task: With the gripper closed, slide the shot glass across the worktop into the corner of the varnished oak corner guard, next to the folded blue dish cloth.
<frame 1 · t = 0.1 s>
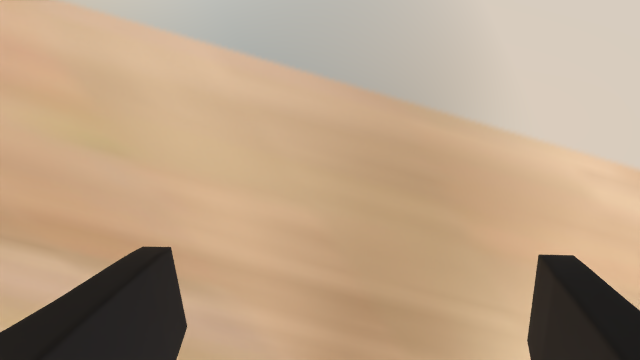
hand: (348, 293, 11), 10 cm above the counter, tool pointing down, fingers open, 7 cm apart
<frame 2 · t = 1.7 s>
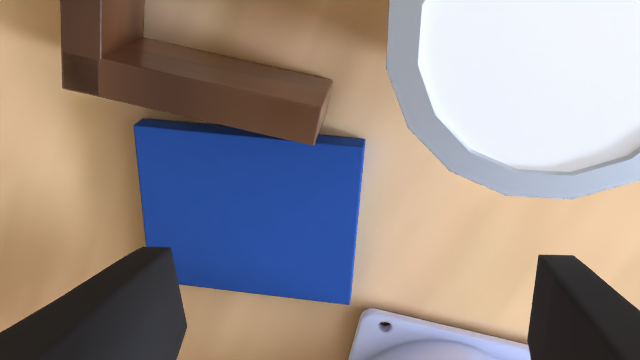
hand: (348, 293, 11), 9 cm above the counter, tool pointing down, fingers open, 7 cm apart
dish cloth: (252, 209, 21), on the counter
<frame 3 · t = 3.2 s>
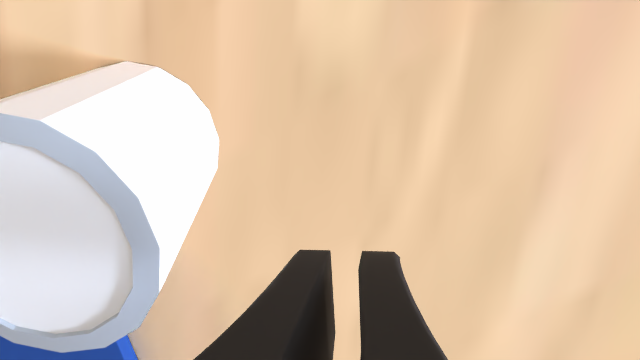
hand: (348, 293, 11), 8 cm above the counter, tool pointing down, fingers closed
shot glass: (144, 138, 20), on the counter
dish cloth: (45, 339, 24), on the counter
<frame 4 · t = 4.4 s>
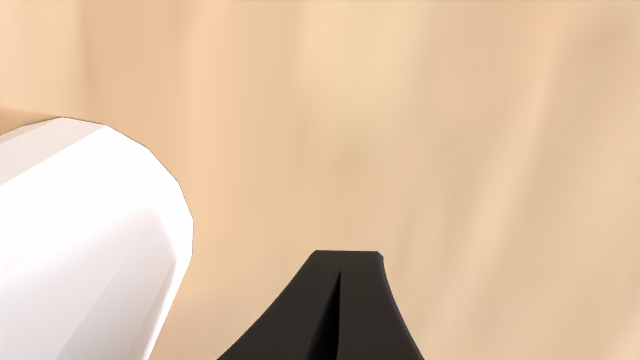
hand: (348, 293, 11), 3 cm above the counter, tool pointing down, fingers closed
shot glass: (93, 215, 15), on the counter
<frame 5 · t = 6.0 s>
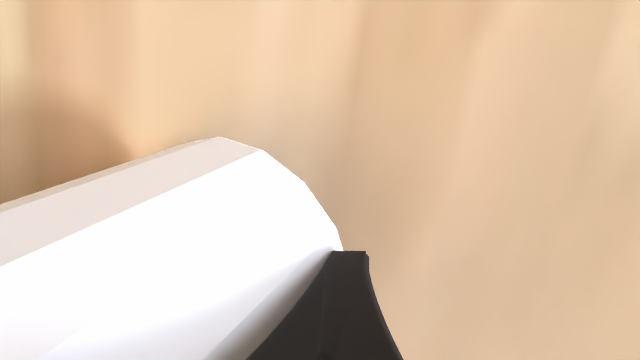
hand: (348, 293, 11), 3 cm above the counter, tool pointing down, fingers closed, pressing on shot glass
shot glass: (249, 248, 13), point 1 cm above the counter, touching gripper
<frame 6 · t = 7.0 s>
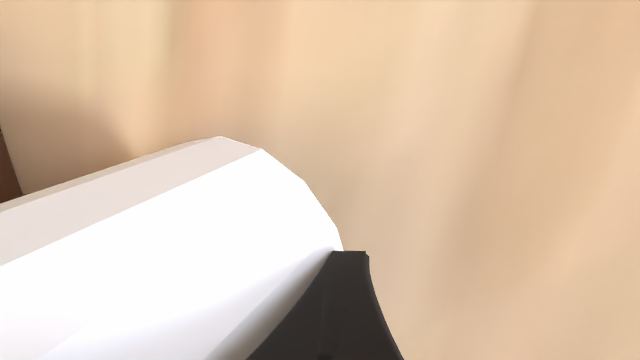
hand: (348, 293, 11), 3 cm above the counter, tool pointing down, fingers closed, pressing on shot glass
corner guard: (163, 246, 14), on the counter
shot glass: (249, 248, 13), point 1 cm above the counter, touching gripper
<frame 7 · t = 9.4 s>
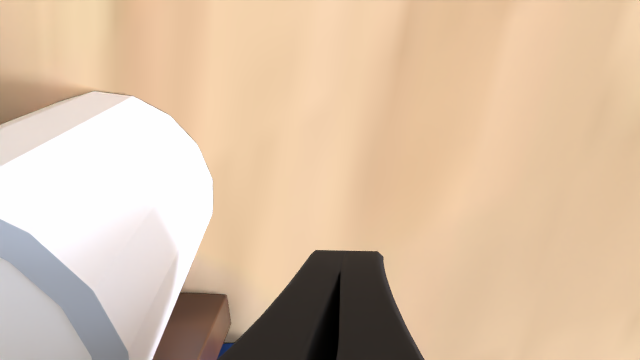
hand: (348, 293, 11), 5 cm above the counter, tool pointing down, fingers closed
corner guard: (115, 198, 16), on the counter
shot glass: (123, 180, 16), on the counter
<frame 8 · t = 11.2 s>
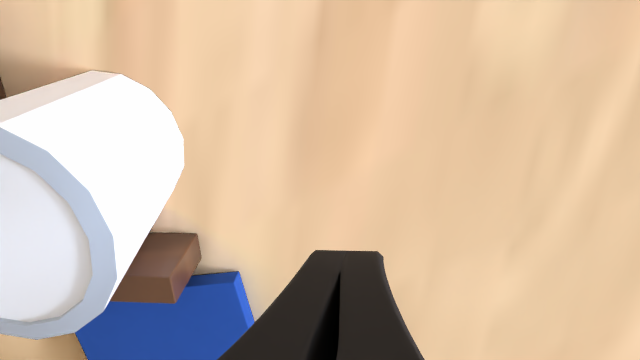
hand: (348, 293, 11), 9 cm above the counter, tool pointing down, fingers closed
corner guard: (108, 155, 21), on the counter
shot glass: (115, 141, 21), on the counter
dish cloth: (174, 339, 25), on the counter
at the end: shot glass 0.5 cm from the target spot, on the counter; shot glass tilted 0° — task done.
